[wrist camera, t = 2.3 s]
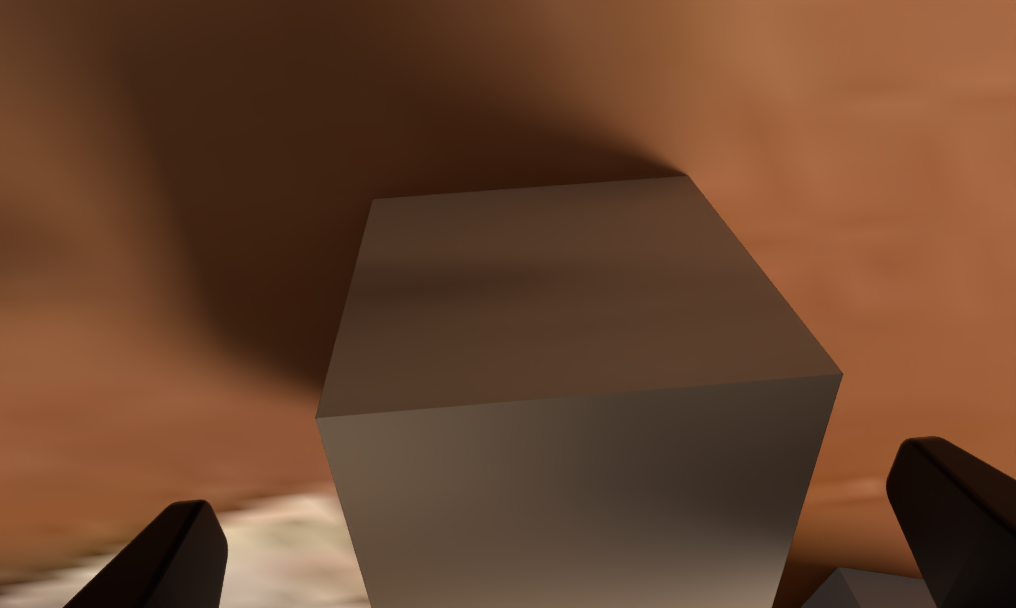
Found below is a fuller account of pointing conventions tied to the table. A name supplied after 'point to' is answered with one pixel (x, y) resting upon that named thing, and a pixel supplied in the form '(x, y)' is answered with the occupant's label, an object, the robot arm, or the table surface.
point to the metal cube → (570, 403)
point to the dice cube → (870, 591)
